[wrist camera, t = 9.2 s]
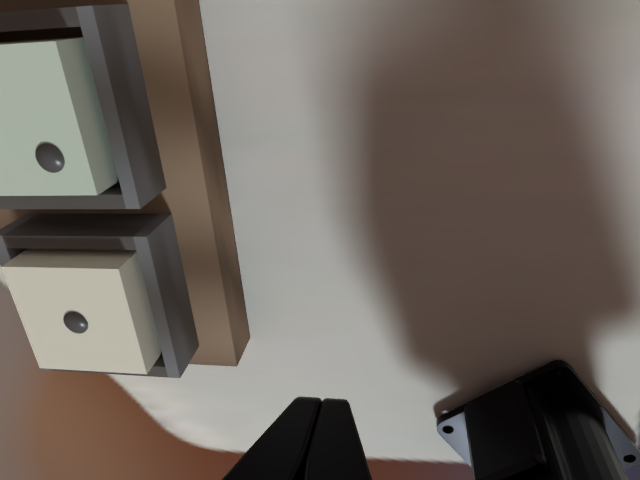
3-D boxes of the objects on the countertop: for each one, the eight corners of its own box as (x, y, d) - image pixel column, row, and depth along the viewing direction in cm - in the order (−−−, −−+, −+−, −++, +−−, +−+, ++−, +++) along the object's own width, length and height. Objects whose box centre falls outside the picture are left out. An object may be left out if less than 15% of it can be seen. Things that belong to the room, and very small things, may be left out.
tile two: (129, 174, 17) (96, 195, 15) (15, 175, 18) (-30, 196, 16) (96, 35, 15) (54, 41, 13) (-30, 43, 16) (-86, 50, 14)
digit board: (250, 337, 23) (221, 400, 20) (72, 329, 25) (15, 386, 21) (148, -328, 14) (56, -440, 10) (-130, -274, 15) (-295, -355, 12)
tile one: (169, 340, 20) (146, 375, 18) (71, 336, 21) (39, 368, 19) (146, 242, 18) (117, 269, 17) (38, 241, 19) (-1, 267, 17)
